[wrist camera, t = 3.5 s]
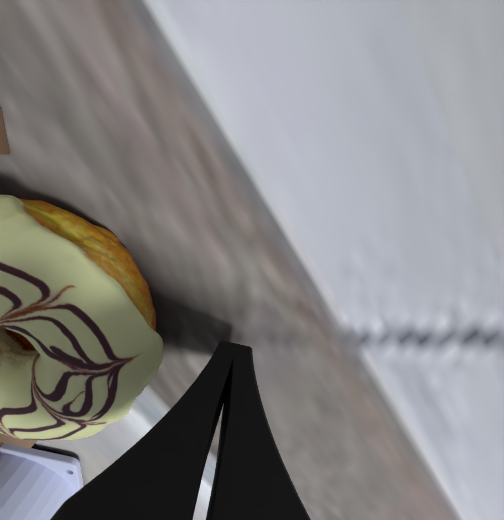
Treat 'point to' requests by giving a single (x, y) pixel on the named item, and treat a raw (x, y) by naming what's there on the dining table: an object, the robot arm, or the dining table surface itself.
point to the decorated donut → (69, 324)
